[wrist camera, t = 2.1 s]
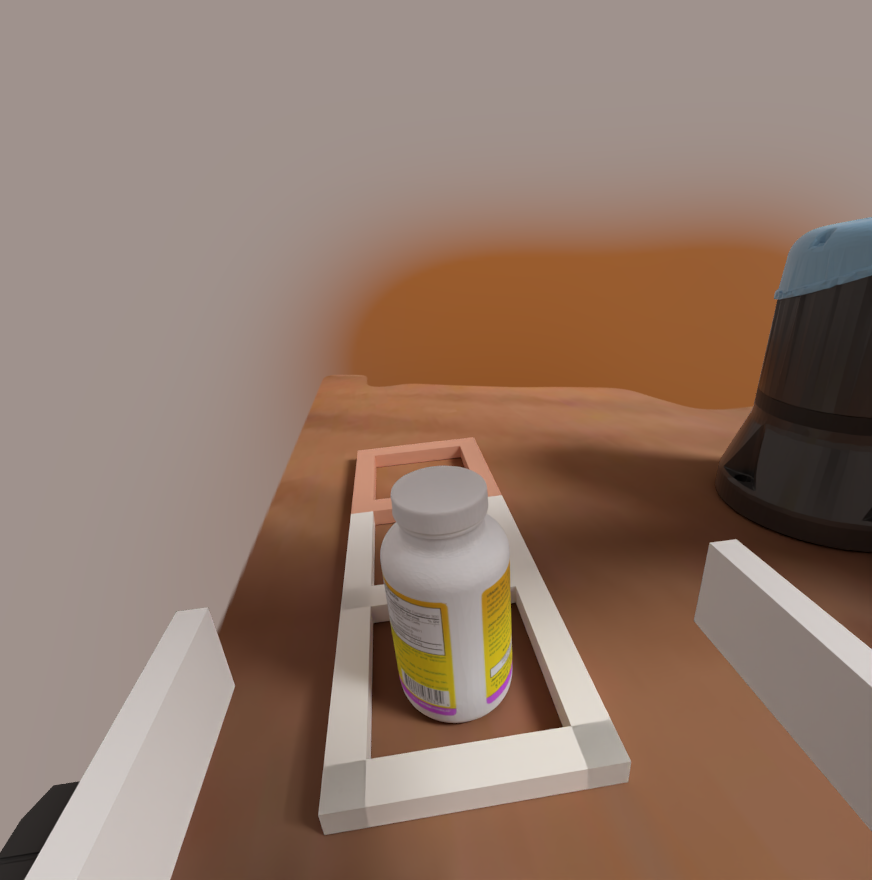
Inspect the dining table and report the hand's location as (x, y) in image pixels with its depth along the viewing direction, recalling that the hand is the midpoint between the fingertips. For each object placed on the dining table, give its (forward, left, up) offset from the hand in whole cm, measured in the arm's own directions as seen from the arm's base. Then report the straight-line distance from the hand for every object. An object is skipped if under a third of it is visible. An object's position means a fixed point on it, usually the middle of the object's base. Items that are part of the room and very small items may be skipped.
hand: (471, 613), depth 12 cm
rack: (+17, -14, -15) cm, 26 cm away
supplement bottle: (+8, -6, -15) cm, 18 cm away
